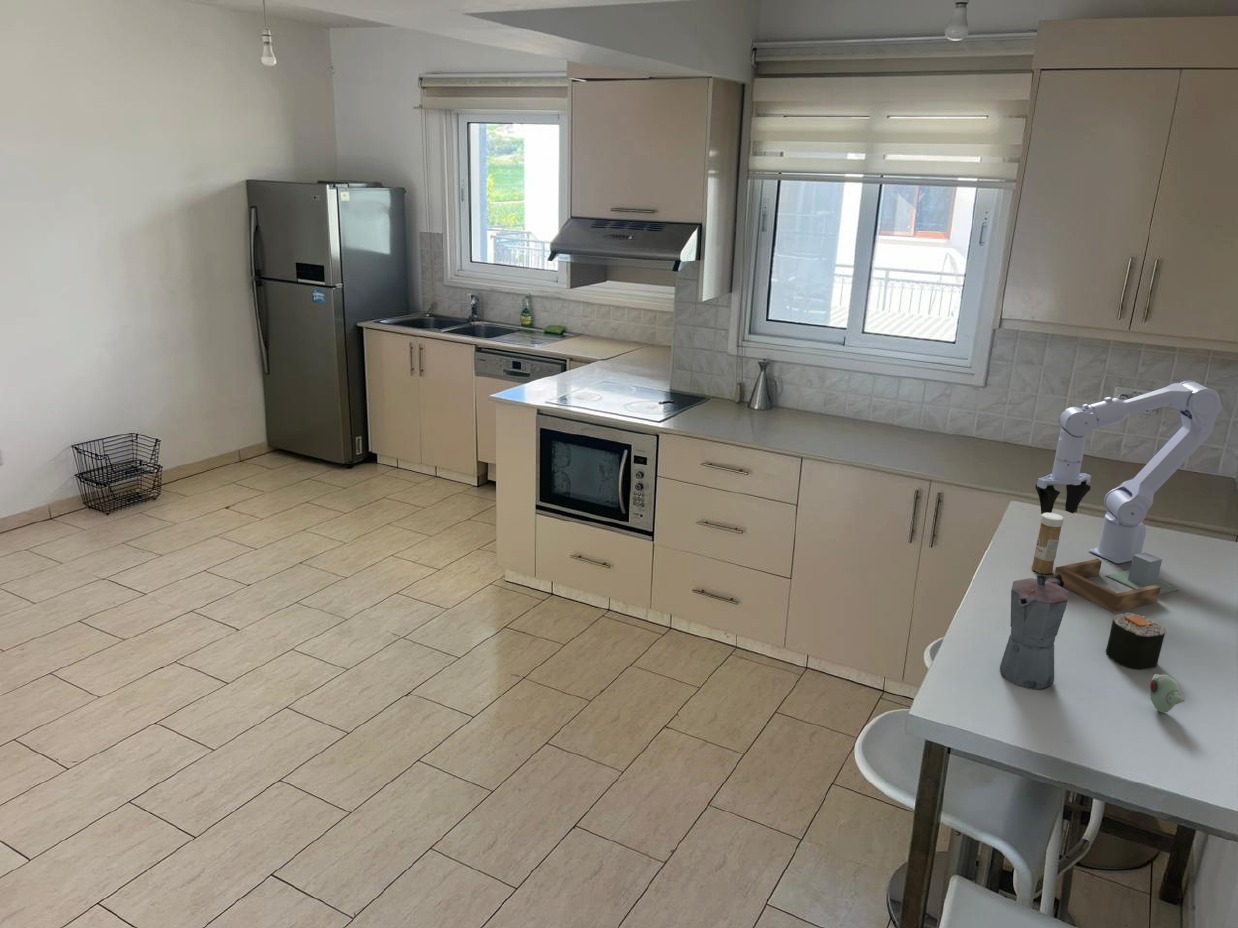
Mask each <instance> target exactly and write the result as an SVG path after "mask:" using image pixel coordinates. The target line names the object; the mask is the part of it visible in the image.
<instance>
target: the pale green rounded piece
mask: <svg viewBox="0 0 1238 928" xmlns="http://www.w3.org/2000/svg"><path fill="white" fill-rule="evenodd" d="M1150 681H1151V682H1150V684H1149V696H1150V697H1149V698H1150V701H1151V702H1152V704H1153V706H1154V708H1155V709H1156V710H1157V711H1158V712H1160V713H1164V714H1165V713H1168V712H1170V711H1171V710H1173V708H1174V707H1175V706H1177V705H1179V704H1182V703H1184V702H1186V700H1185V698H1184V697H1183V695H1182V693H1181V690H1180V687H1179V685H1178V683H1177V681H1176V680H1175V679H1174V678H1173V677H1171V676H1169V675H1168V674H1157V673H1155V674H1154V675H1153V676H1152V678H1151V680H1150Z"/></svg>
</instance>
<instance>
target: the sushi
mask: <svg viewBox="0 0 1238 928" xmlns="http://www.w3.org/2000/svg"><path fill="white" fill-rule="evenodd" d="M1151 620H1152V619H1151V618H1145V616H1144V615H1142V616H1141V615H1140V614H1138V613H1137V614H1135V613H1133V612H1125V613H1118V614H1116V615H1115V616H1113V617H1112V622H1111V626H1110V633H1109V637H1108V641H1107V644H1106V649H1105V653H1106V656H1108V657H1109V658H1110V659H1112V660H1113V661H1115V663H1117V664H1118V665H1120V666H1123V667H1125V668H1129V669H1131V670H1132V669H1133V670H1149V669H1153V668H1156V667H1157V666H1158V662H1159V658H1160V655H1161V650H1162V646H1163V644H1164V643H1163V642H1164V639H1165V634H1166V630H1167V628H1166V627H1165V626H1163V625H1161V622H1156V621H1151Z"/></svg>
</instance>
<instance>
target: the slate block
mask: <svg viewBox="0 0 1238 928" xmlns="http://www.w3.org/2000/svg"><path fill="white" fill-rule="evenodd" d="M1162 562H1163V559H1162V558H1160V557H1158V556H1156V555H1152V554H1150V553H1148V552H1141V554H1136V555H1133V559H1132V561H1131V564H1130V567H1129V570H1130V572H1129V577H1128V580H1130V581H1132V582H1134V583H1136V584H1139V585H1141V586H1143V587H1147V586H1151V585H1155V584H1156V583H1157V580H1159V579H1158V578H1159V575H1160V570H1161V567H1162Z"/></svg>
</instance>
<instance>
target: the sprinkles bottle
mask: <svg viewBox="0 0 1238 928" xmlns="http://www.w3.org/2000/svg"><path fill="white" fill-rule="evenodd" d="M1064 520H1065V519H1064V517H1063V516H1062V515H1060V514H1058V513H1055V512H1052V513H1043V514H1041V516H1040V527H1039V532H1038V536H1037V541H1036V545H1035V549H1034V556H1033V560H1032V565H1031V569H1032V570H1033V571H1034V572H1035V573H1038V574H1041V575H1049V574H1050V575H1051V574H1053V571H1054V569H1053V568H1054V564H1055V560H1056V557H1057V551H1058V547H1059V542H1060V536H1061V531H1062V527H1063V525H1064Z"/></svg>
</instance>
